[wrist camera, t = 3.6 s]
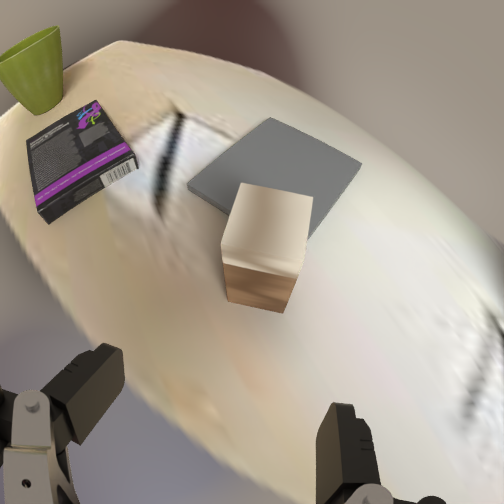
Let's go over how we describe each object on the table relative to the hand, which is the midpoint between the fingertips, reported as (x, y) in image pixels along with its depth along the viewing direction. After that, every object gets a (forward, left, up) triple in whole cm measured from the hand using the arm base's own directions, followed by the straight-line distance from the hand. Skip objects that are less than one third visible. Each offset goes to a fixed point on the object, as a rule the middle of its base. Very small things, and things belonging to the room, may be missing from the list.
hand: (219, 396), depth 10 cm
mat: (+10, -22, -14) cm, 28 cm away
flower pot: (+61, -14, -14) cm, 65 cm away
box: (+36, -9, -15) cm, 40 cm away
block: (+4, -10, -14) cm, 18 cm away
